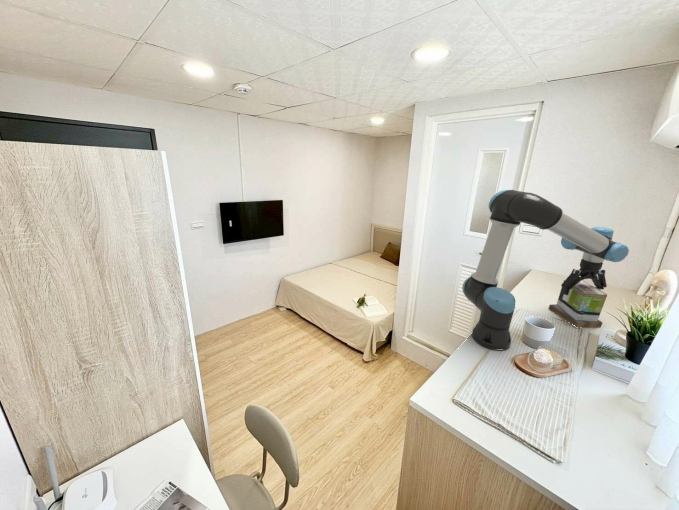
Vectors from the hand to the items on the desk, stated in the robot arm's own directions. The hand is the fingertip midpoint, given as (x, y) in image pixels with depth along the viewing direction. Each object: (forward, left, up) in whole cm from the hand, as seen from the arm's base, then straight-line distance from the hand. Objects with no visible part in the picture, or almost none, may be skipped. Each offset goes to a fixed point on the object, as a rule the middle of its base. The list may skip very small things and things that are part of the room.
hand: (578, 300), depth 129 cm
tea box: (0, 0, -7) cm, 7 cm away
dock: (0, 0, -10) cm, 10 cm away
